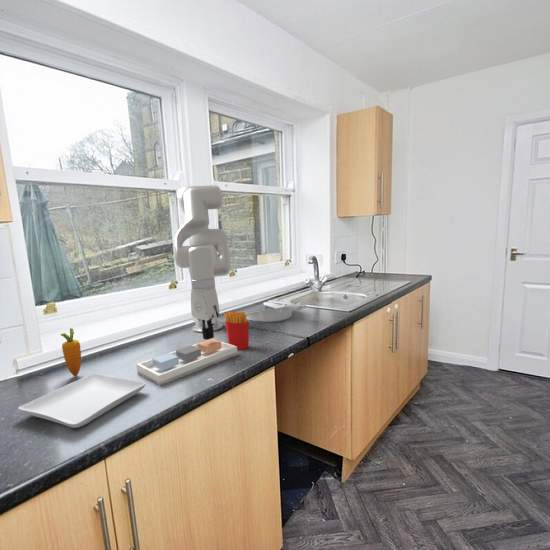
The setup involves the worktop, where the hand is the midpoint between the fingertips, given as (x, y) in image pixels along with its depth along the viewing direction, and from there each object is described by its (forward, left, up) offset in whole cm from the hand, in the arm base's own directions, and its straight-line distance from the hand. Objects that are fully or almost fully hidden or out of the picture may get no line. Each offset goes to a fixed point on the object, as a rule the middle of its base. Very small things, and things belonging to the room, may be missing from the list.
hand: (208, 338), depth 116 cm
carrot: (-22, -35, -7) cm, 42 cm away
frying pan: (-11, +47, -7) cm, 48 cm away
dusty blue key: (0, -16, -4) cm, 16 cm away
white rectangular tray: (0, -8, -6) cm, 10 cm away
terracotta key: (0, 0, -4) cm, 4 cm away
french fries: (+1, +11, -7) cm, 13 cm away
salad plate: (+1, -39, -7) cm, 39 cm away
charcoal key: (0, -8, -4) cm, 9 cm away
